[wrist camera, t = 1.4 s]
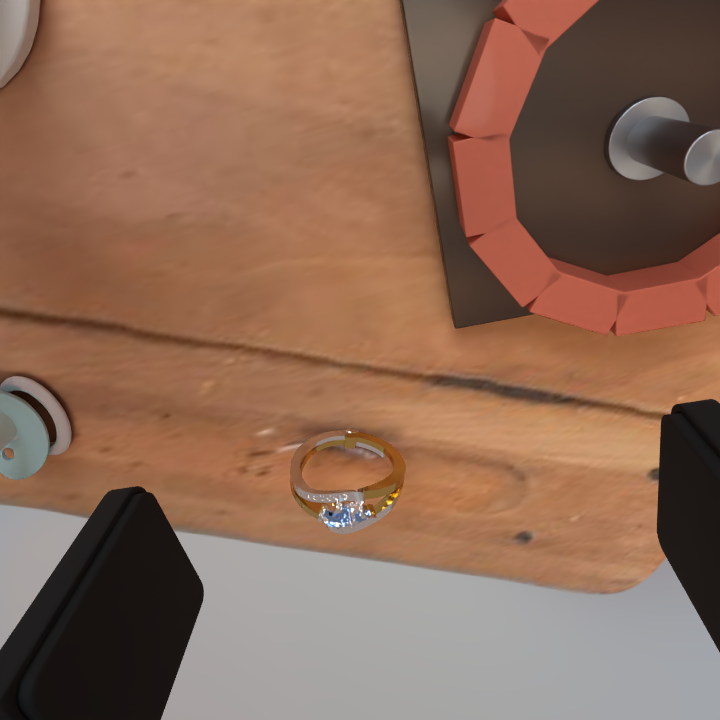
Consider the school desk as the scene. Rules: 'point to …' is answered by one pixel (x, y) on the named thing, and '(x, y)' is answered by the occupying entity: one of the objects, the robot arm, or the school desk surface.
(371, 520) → the ring
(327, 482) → the school desk surface
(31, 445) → the pacifier
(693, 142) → the steel post
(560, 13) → the ring
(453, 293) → the board
